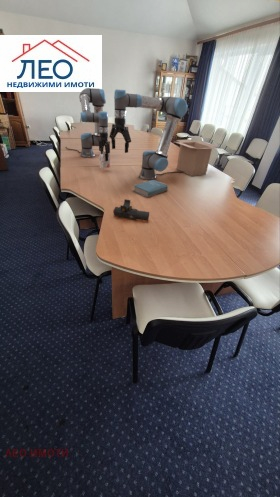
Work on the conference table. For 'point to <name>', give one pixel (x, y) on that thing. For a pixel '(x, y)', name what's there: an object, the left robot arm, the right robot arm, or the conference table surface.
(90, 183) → the conference table surface
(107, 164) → the ink cartridge box
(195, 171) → the box
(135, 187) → the book
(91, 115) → the left robot arm
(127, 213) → the laser sight
